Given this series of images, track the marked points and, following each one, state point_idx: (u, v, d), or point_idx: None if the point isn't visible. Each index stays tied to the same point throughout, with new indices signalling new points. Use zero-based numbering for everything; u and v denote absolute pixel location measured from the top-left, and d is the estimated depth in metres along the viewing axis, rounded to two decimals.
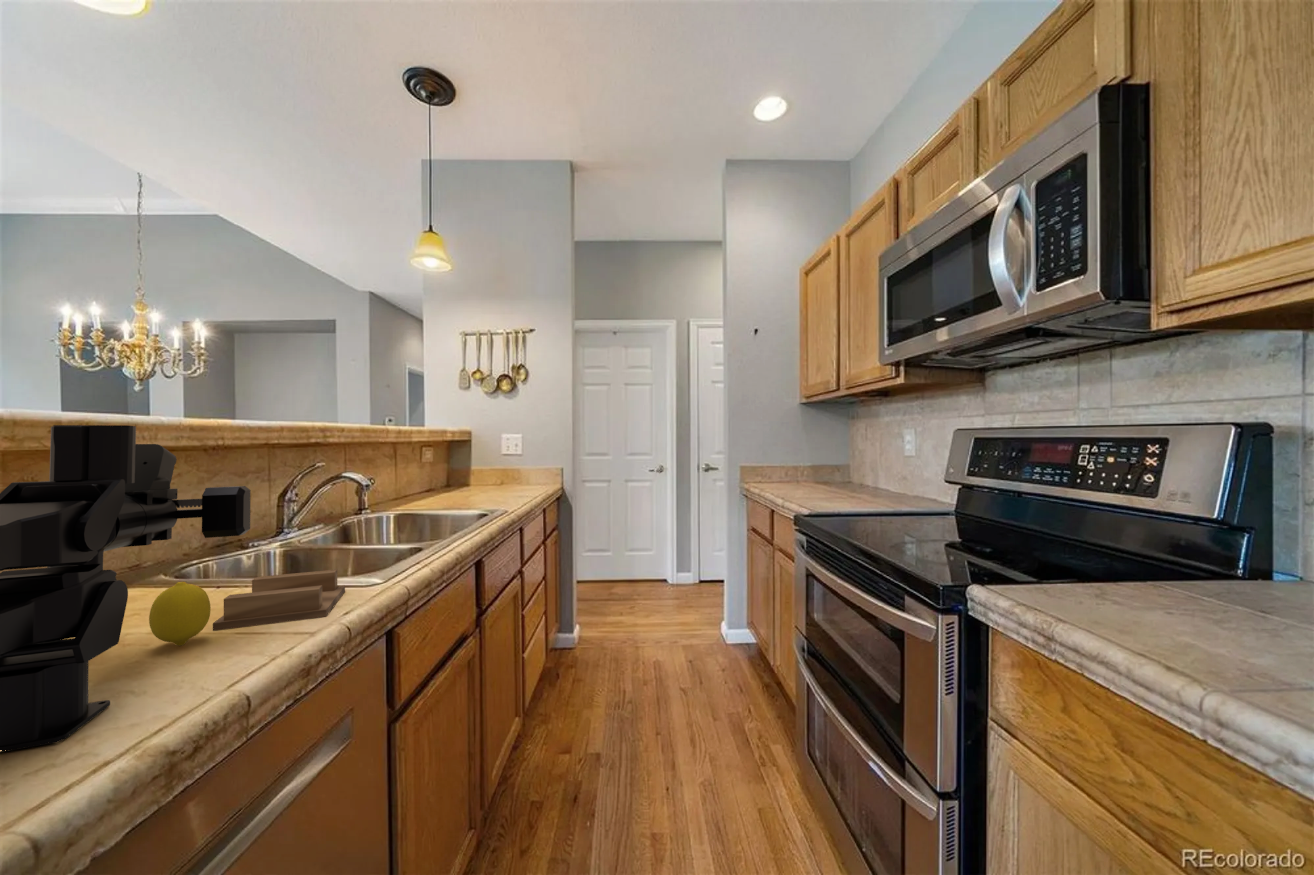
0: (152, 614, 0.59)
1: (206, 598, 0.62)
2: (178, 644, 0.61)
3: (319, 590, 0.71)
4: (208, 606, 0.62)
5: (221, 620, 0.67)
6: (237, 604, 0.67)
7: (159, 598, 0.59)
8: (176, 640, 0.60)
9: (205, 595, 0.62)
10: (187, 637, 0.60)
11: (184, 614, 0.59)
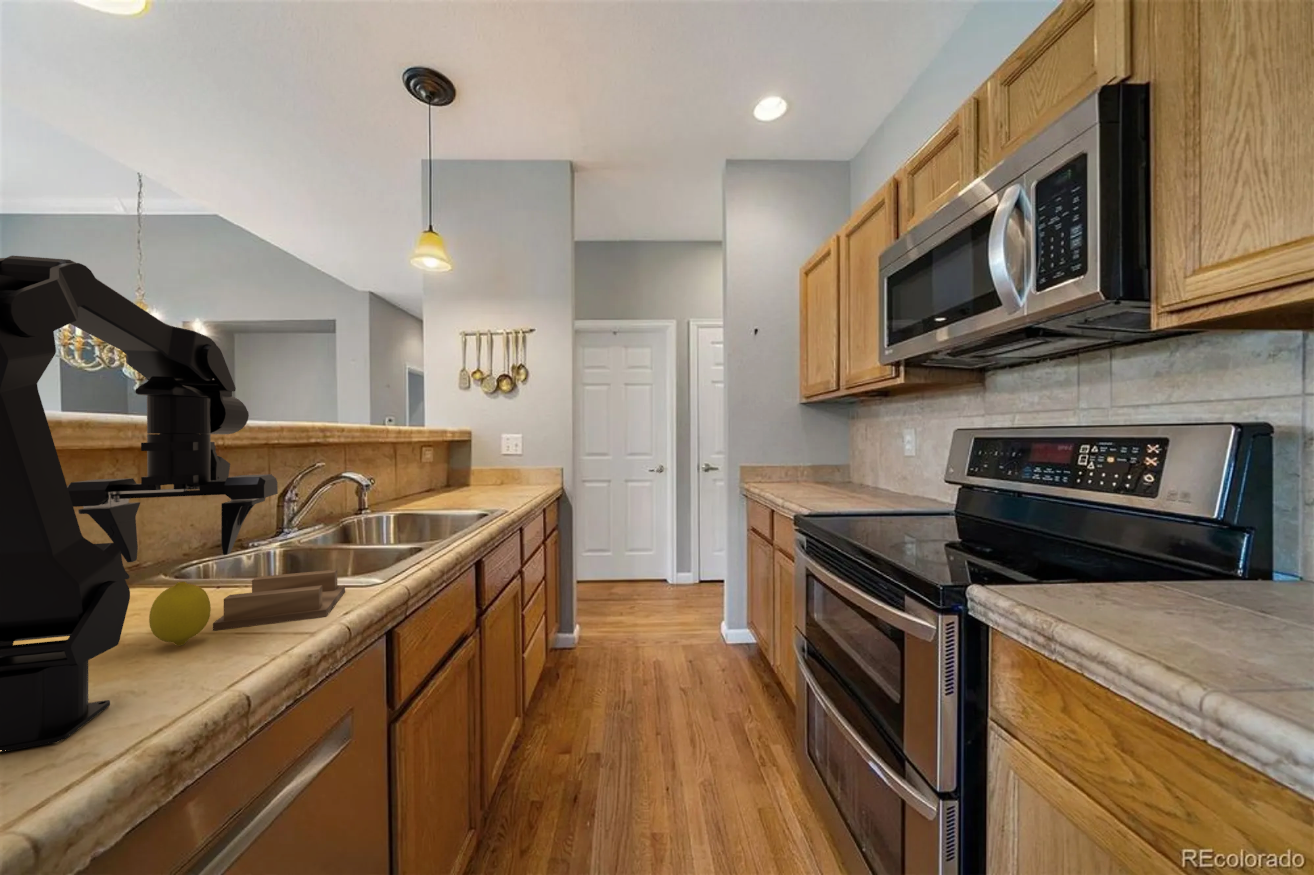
0: (152, 614, 0.59)
1: (206, 598, 0.62)
2: (178, 644, 0.61)
3: (319, 590, 0.71)
4: (208, 606, 0.62)
5: (221, 620, 0.67)
6: (237, 604, 0.67)
7: (159, 598, 0.59)
8: (176, 640, 0.60)
9: (205, 595, 0.62)
10: (187, 637, 0.60)
11: (184, 614, 0.59)
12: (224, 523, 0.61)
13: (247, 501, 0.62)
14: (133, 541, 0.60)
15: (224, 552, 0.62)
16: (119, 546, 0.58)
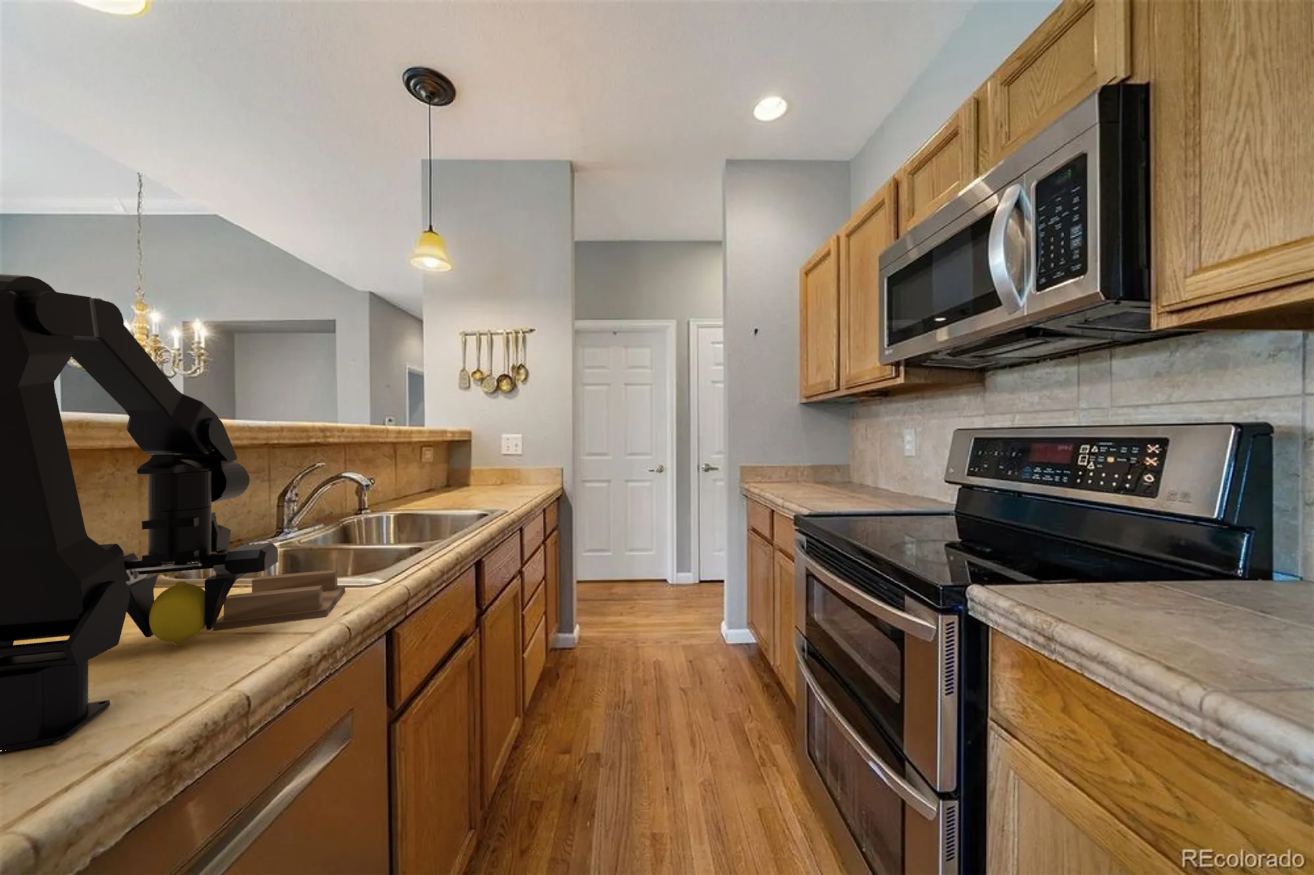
0: (152, 614, 0.59)
1: None
2: (178, 644, 0.61)
3: (319, 590, 0.71)
4: None
5: (221, 620, 0.67)
6: (237, 604, 0.67)
7: (159, 598, 0.59)
8: (176, 640, 0.60)
9: None
10: (187, 637, 0.60)
11: (184, 613, 0.59)
12: (207, 599, 0.61)
13: (231, 576, 0.61)
14: None
15: (207, 627, 0.62)
16: (138, 622, 0.59)
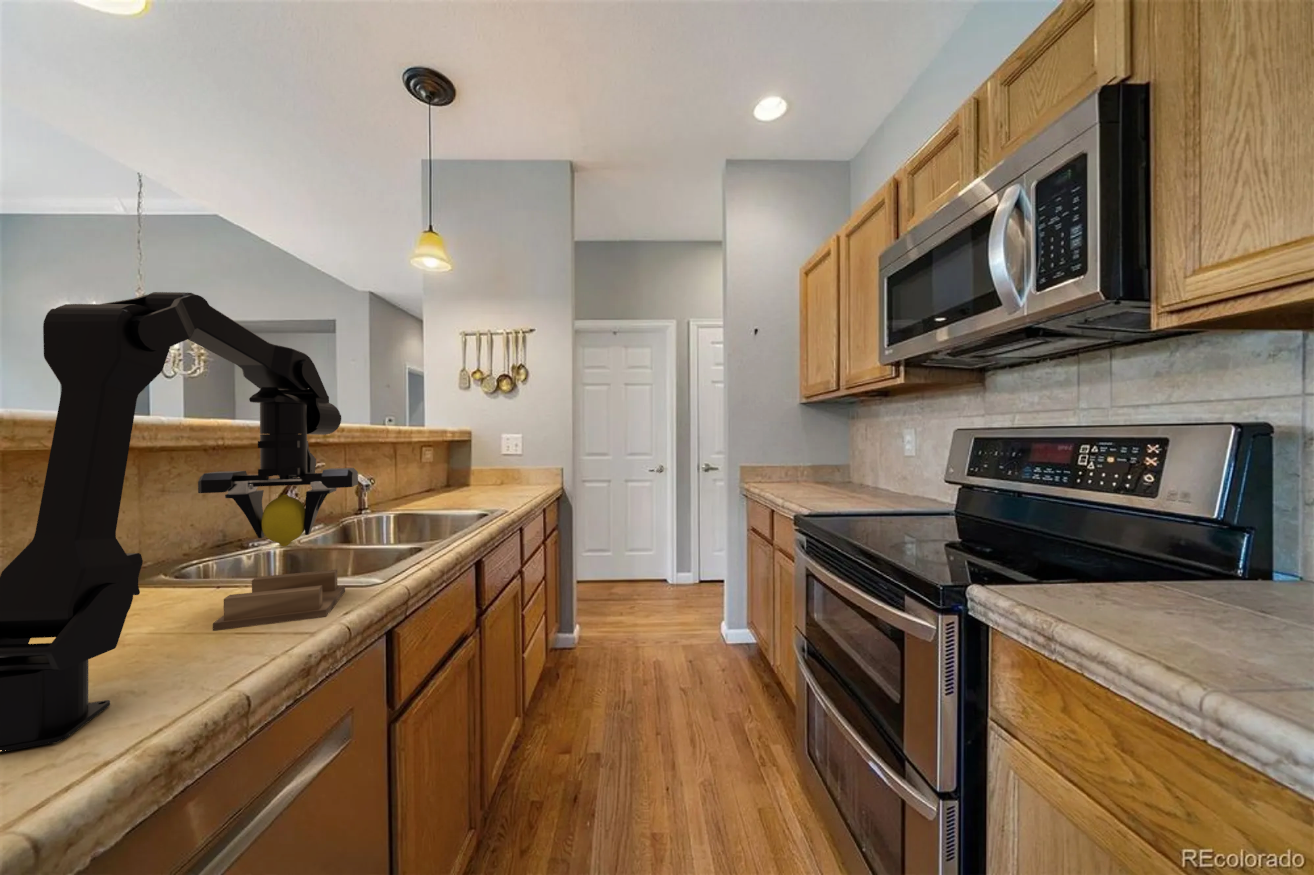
0: (265, 518, 0.72)
1: (304, 509, 0.75)
2: (283, 545, 0.74)
3: (319, 590, 0.71)
4: None
5: (221, 620, 0.67)
6: (237, 604, 0.67)
7: (270, 505, 0.72)
8: (283, 540, 0.73)
9: (303, 506, 0.75)
10: (291, 539, 0.74)
11: (290, 518, 0.73)
12: (307, 508, 0.74)
13: (325, 490, 0.75)
14: (261, 521, 0.73)
15: (306, 532, 0.75)
16: (253, 525, 0.72)
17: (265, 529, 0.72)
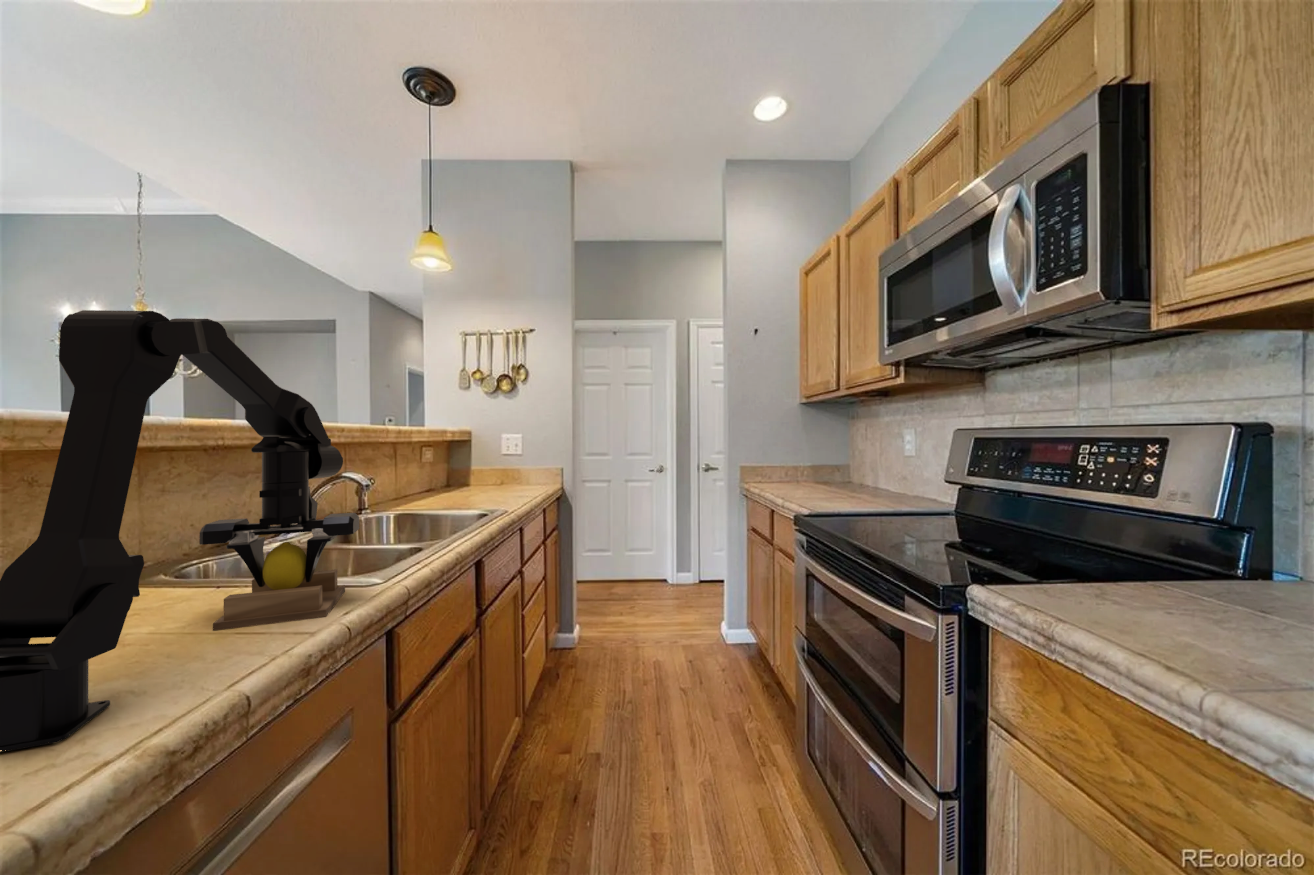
0: (266, 567, 0.72)
1: (305, 556, 0.75)
2: None
3: (319, 590, 0.71)
4: None
5: (221, 620, 0.67)
6: (237, 604, 0.67)
7: (271, 554, 0.72)
8: None
9: (304, 553, 0.75)
10: (292, 587, 0.74)
11: (291, 567, 0.73)
12: (308, 556, 0.74)
13: (327, 537, 0.75)
14: (262, 569, 0.73)
15: (307, 580, 0.75)
16: (254, 574, 0.72)
17: (266, 578, 0.72)
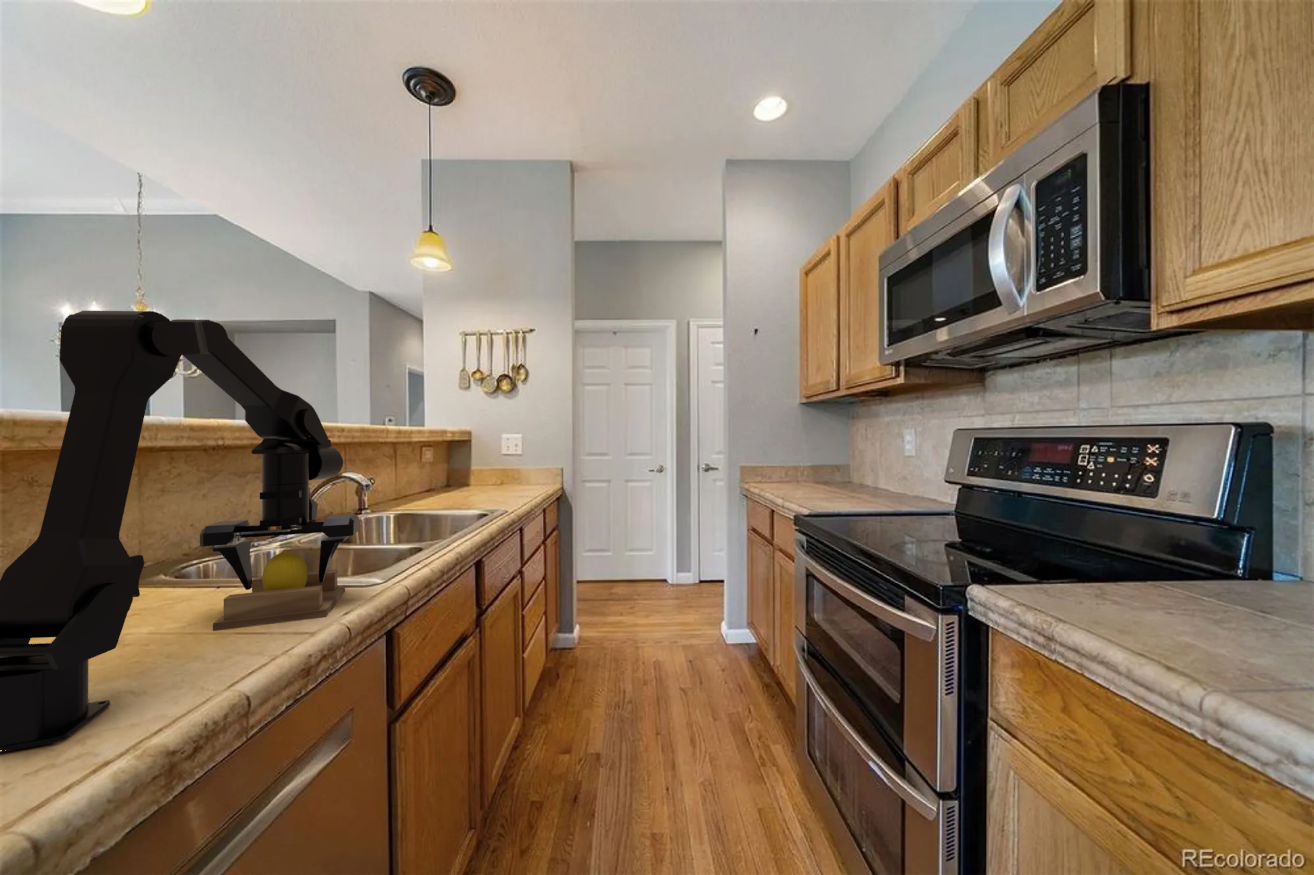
0: (265, 575, 0.72)
1: (305, 564, 0.75)
2: None
3: (319, 590, 0.71)
4: (306, 571, 0.75)
5: (221, 620, 0.67)
6: (237, 604, 0.67)
7: (270, 563, 0.72)
8: None
9: (304, 561, 0.75)
10: None
11: (291, 576, 0.73)
12: (322, 556, 0.74)
13: (340, 538, 0.75)
14: (249, 572, 0.73)
15: (320, 580, 0.76)
16: (240, 577, 0.71)
17: (266, 587, 0.72)
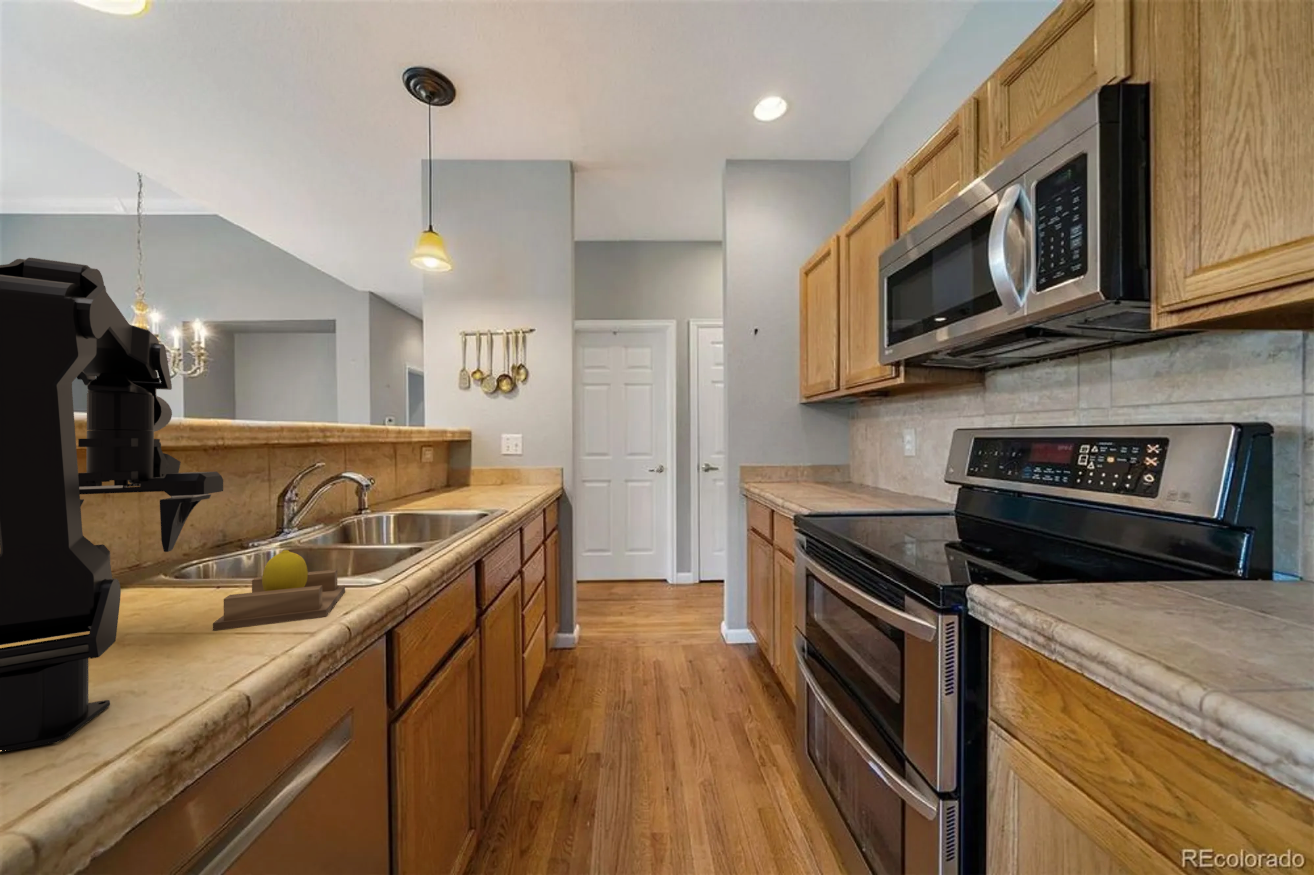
0: (265, 575, 0.72)
1: (305, 564, 0.75)
2: None
3: (319, 590, 0.71)
4: (306, 571, 0.75)
5: (221, 620, 0.67)
6: (237, 604, 0.67)
7: (270, 563, 0.72)
8: None
9: (304, 561, 0.75)
10: None
11: (291, 575, 0.73)
12: (163, 520, 0.61)
13: (187, 498, 0.62)
14: None
15: (164, 549, 0.62)
16: None
17: (266, 587, 0.72)
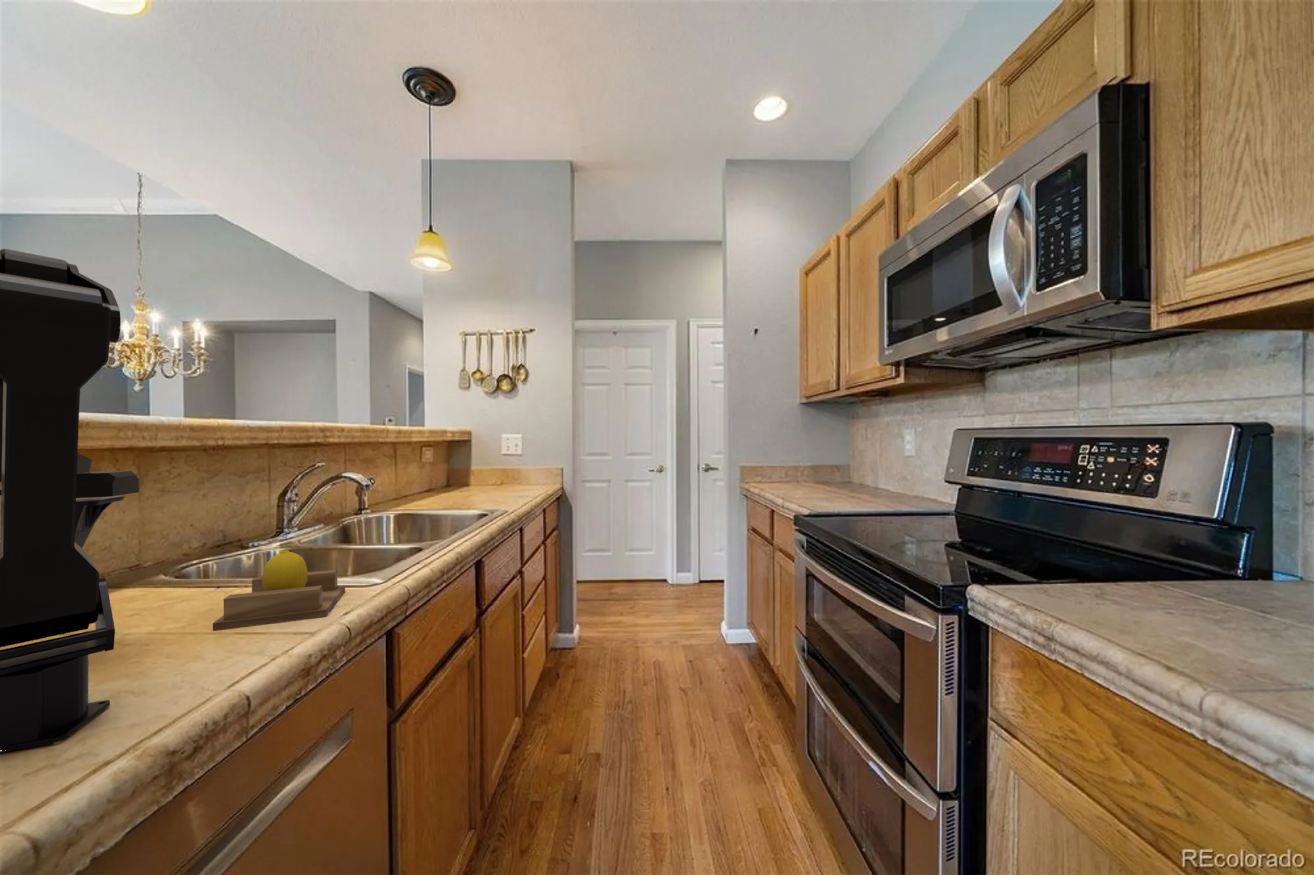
0: (265, 575, 0.72)
1: (304, 564, 0.75)
2: None
3: (319, 590, 0.71)
4: (306, 570, 0.75)
5: (221, 620, 0.67)
6: (237, 604, 0.67)
7: (270, 563, 0.72)
8: None
9: (304, 561, 0.75)
10: None
11: (290, 575, 0.73)
12: None
13: (93, 500, 0.56)
14: None
15: None
16: None
17: (266, 587, 0.72)
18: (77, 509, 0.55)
